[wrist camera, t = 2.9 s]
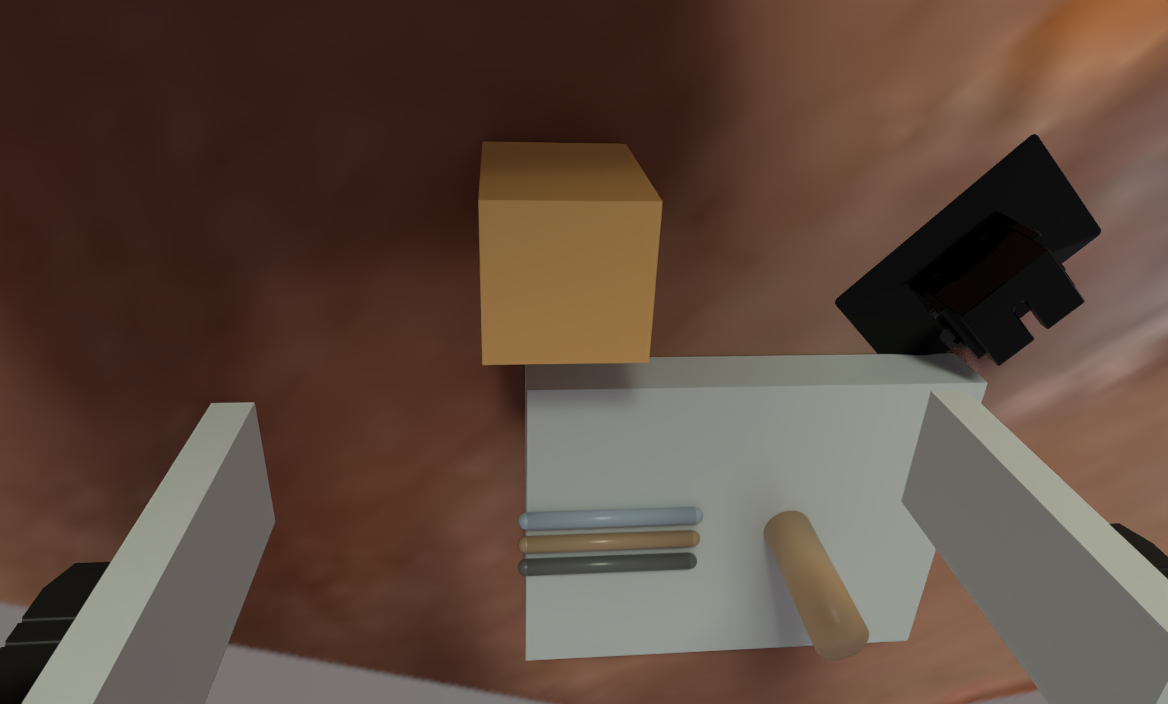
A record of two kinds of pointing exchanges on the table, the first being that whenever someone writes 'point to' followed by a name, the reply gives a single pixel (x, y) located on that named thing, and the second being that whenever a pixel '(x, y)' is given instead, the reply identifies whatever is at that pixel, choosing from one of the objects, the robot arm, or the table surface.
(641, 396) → the junction plate
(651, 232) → the cardboard-colored cube
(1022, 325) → the black power adapter
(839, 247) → the table surface
